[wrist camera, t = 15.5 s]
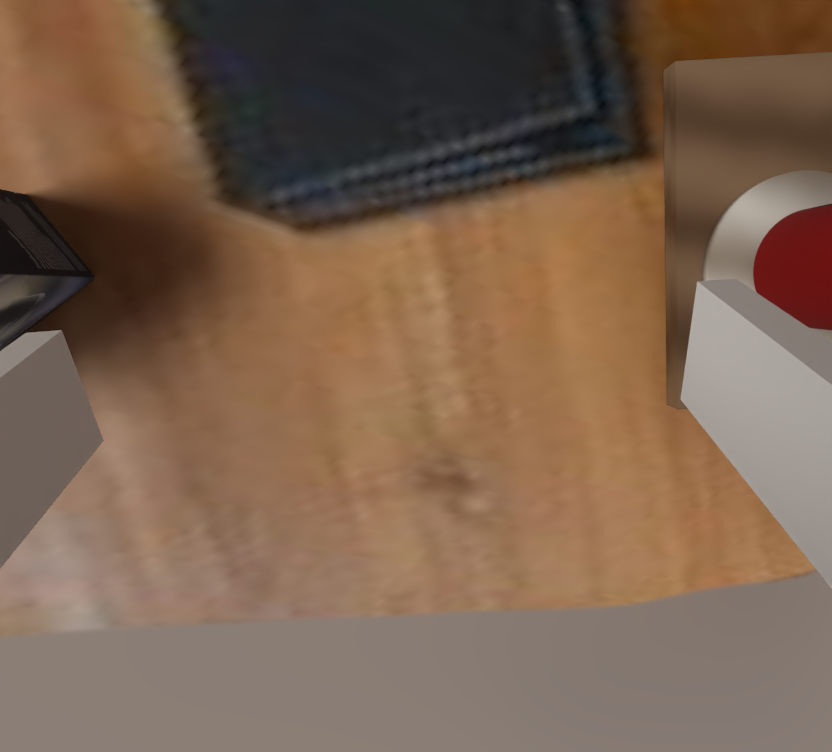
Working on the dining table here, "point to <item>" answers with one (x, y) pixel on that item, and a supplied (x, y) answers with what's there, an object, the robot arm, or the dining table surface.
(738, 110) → the drinks board
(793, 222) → the beverage can
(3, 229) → the small box
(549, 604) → the dining table surface
